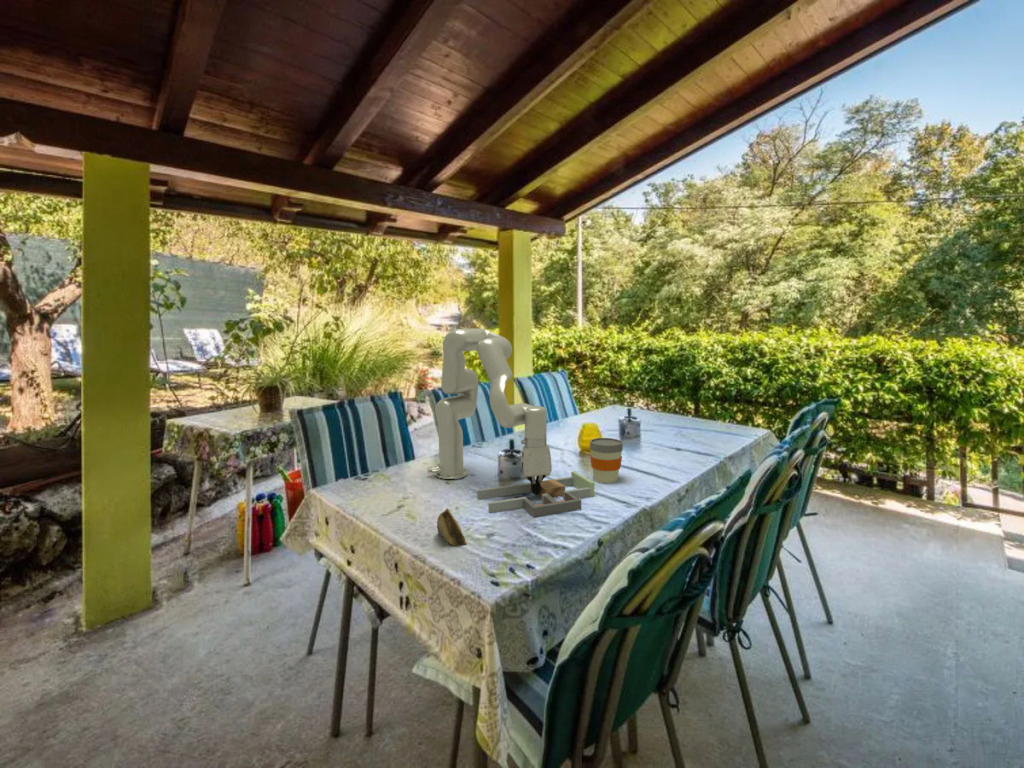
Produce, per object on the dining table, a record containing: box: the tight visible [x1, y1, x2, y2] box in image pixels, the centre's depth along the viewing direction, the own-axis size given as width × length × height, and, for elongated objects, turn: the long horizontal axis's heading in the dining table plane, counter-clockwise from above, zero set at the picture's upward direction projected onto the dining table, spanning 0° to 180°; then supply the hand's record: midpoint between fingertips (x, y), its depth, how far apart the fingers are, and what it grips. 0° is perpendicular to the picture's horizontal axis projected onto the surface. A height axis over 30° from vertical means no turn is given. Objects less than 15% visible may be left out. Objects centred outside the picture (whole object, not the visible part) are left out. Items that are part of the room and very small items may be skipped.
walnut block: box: [538, 478, 566, 499], centre depth 168 cm, size 8×8×4 cm
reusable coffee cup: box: [589, 437, 624, 484], centre depth 183 cm, size 13×13×15 cm
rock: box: [436, 507, 467, 546], centre depth 134 cm, size 11×9×10 cm
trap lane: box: [476, 470, 595, 518], centre depth 161 cm, size 38×22×5 cm, turn 111°
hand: (535, 493), depth 165 cm, fingers closed
